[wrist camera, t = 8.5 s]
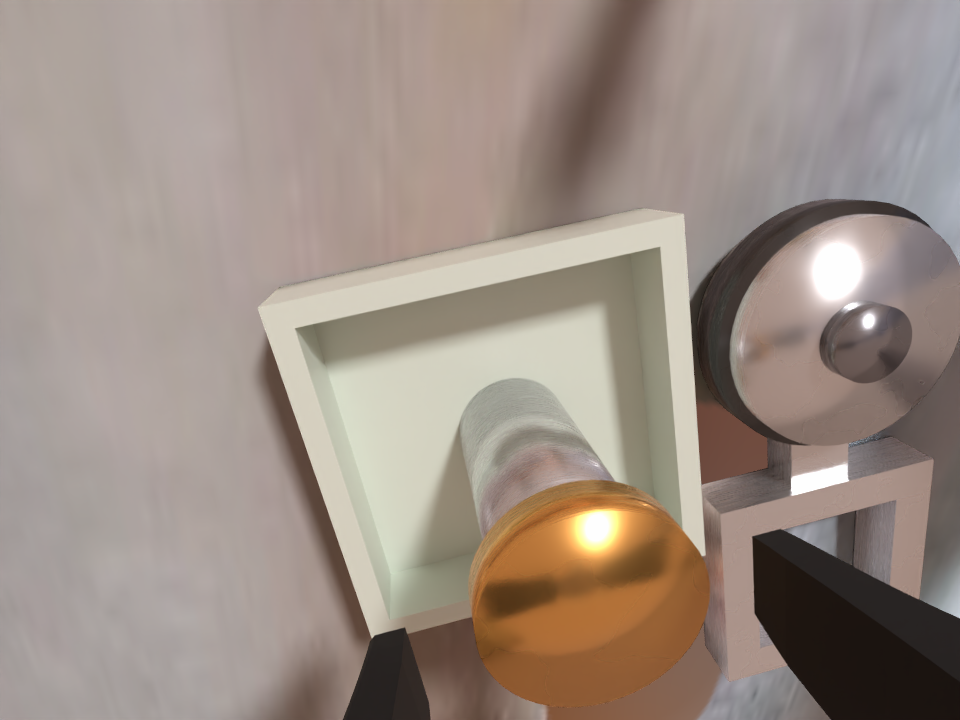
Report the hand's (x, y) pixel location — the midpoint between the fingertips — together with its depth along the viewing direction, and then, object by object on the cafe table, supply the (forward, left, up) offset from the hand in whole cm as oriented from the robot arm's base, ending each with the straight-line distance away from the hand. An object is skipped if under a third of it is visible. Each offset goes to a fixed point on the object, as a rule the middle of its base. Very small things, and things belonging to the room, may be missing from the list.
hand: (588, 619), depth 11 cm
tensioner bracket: (-12, +5, -10) cm, 16 cm away
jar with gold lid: (0, +1, -10) cm, 10 cm away
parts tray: (0, 0, -10) cm, 10 cm away
